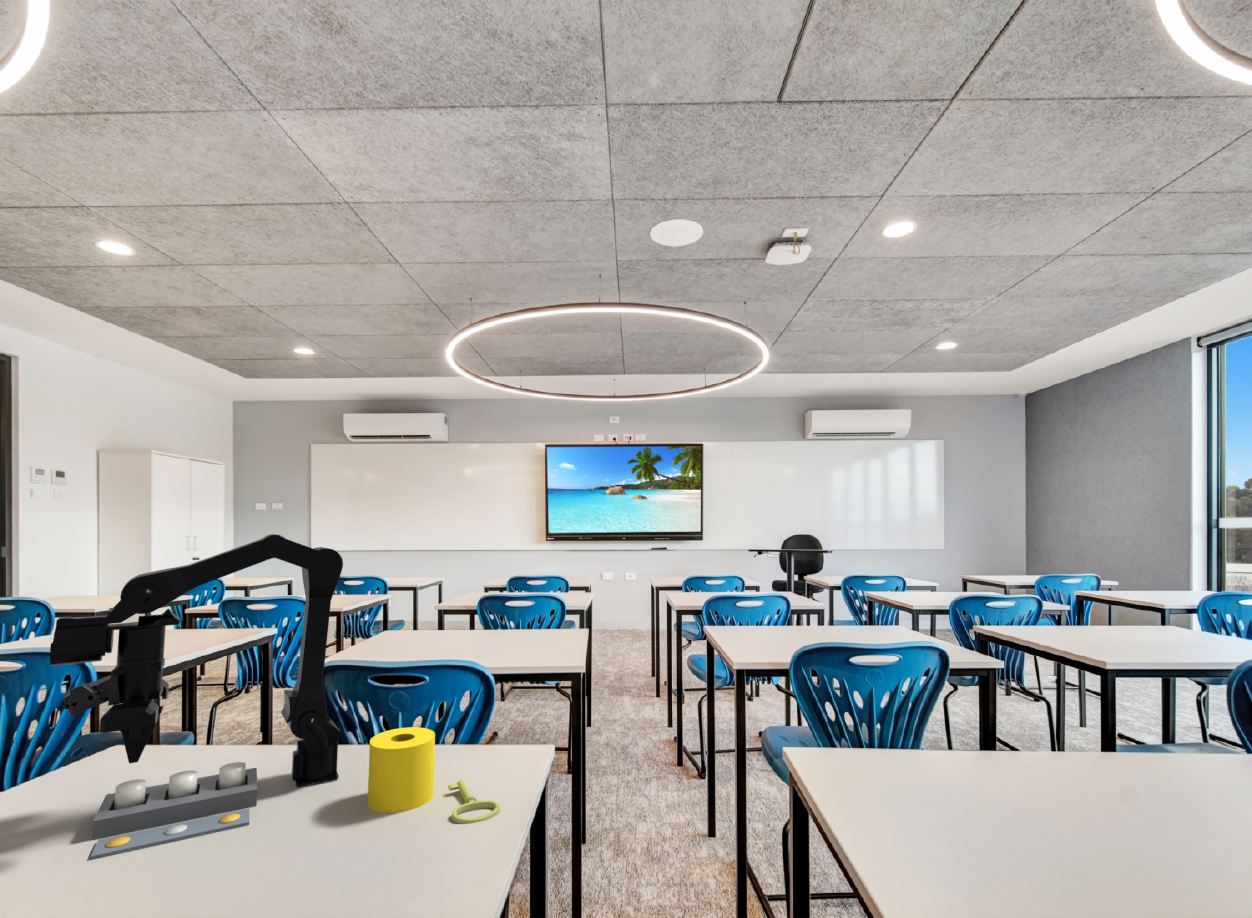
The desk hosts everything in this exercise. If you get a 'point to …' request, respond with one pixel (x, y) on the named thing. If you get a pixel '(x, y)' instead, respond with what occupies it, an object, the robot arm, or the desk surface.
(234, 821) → the pattern card
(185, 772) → the button middle
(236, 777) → the button
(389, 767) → the yellow cylinder with hole
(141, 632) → the robot arm
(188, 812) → the button panel
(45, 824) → the desk surface
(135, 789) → the button
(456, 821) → the key
